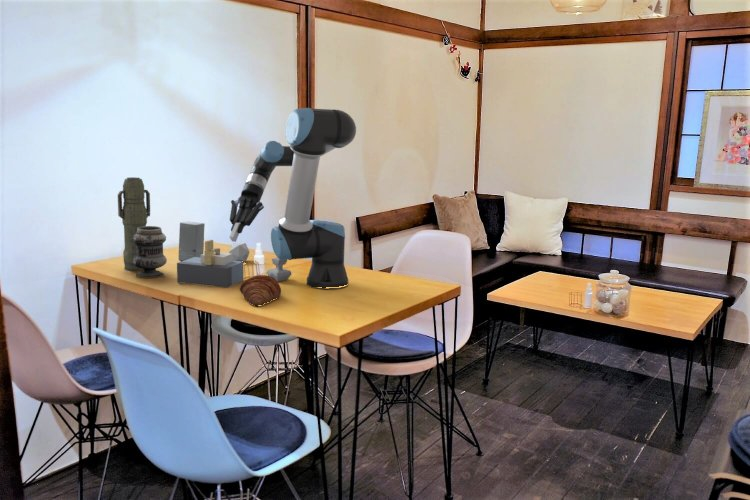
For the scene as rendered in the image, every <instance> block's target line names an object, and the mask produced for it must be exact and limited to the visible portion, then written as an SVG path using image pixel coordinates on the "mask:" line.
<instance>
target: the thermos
mask: <svg viewBox="0 0 750 500" xmlns="http://www.w3.org/2000/svg"><path fill="white" fill-rule="evenodd" d="M122 197H123V199H122ZM145 201H146V203H145ZM117 210H118V211H117V215H118V217H119V218H120V219H122V222H121V223H122V226H123V233H124V235H123V237H124V241H123V242H124V250H123V255H122V256H123V264H124V268H123V269H124V270H126V271H135V272H137V271H139V272H140V271H144V269H142V268H139V267H137V266H135V265H134V264H133V258H134V256H135V255H136V243H134V242H133V240H132V238H133V235H134V234H136V232H137V228H138V227H142V226H147V223H148V217H151V193H150V192H149V190H148V189H145V183H144V181H143V179H142V178H140V177H136V176H135V177H126V178H124V181H123V184H122V190H120V191H119V192H118V193H117Z"/></svg>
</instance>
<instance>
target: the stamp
mask: <svg viewBox="0 0 750 500" xmlns="http://www.w3.org/2000/svg"><path fill="white" fill-rule="evenodd" d="M271 262H272V264H273V265H275V268H270V269H268V270H266V275H267V276H270V277H272V278H274V279H275V280H276V282H284V281H287V280H288V279H289V278H290V277H291V276H292V271H291V270H289V269H286V268H284V267H283V266H285V265H286V264H287V262H288V260H281V259H279V258H278V257H272V258H271Z"/></svg>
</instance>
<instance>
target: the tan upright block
mask: <svg viewBox="0 0 750 500" xmlns="http://www.w3.org/2000/svg"><path fill="white" fill-rule="evenodd" d="M213 249H214V240H213V239H209V240H204V254H205V265H213V264H214V255H215V254H216V252H214V250H213Z"/></svg>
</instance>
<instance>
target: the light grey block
mask: <svg viewBox="0 0 750 500" xmlns="http://www.w3.org/2000/svg"><path fill="white" fill-rule="evenodd" d="M213 250H214V252H216V254H215V255H214V264H215V265H225V264H228V263H231V262H233V254H232V253H229V252H221V248H219V247H215V248H214V247H213ZM201 263H205V253H203V254H202V255H201Z"/></svg>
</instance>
